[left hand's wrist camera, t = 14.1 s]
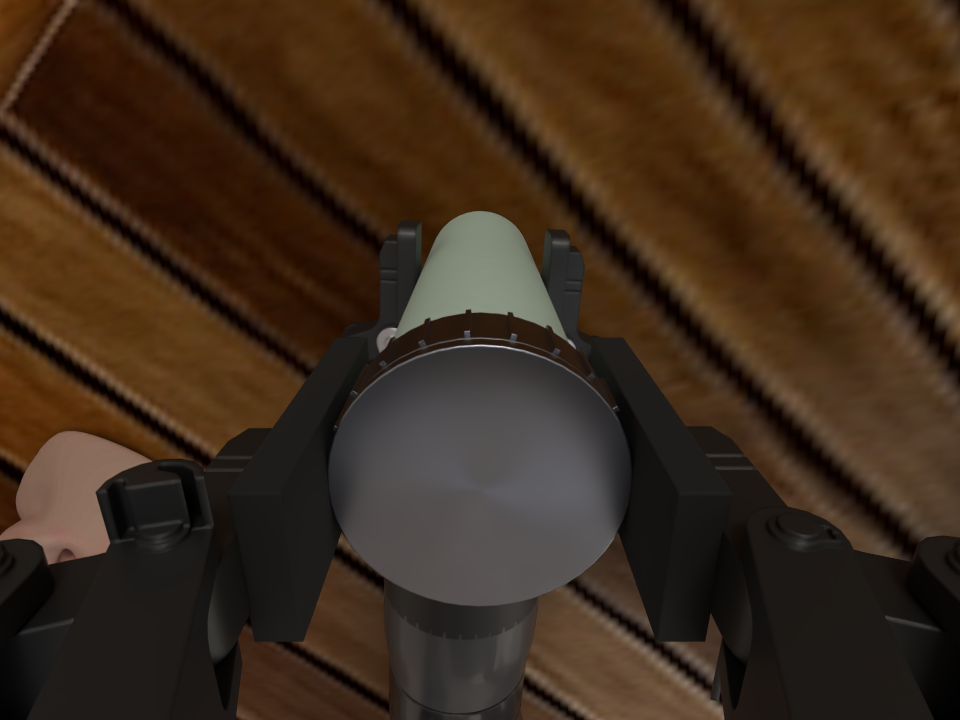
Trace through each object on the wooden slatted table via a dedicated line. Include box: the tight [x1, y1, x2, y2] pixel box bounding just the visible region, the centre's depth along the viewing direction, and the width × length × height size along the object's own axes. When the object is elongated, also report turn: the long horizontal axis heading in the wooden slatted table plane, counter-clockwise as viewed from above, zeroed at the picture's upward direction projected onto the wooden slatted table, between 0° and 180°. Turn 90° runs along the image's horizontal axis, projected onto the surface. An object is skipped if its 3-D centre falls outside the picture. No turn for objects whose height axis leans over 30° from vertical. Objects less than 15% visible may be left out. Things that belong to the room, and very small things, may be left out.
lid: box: [327, 309, 633, 606], centre depth 11 cm, size 6×6×2 cm
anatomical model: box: [0, 431, 152, 564], centre depth 33 cm, size 13×4×12 cm
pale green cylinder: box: [394, 211, 569, 343], centre depth 20 cm, size 5×5×20 cm
